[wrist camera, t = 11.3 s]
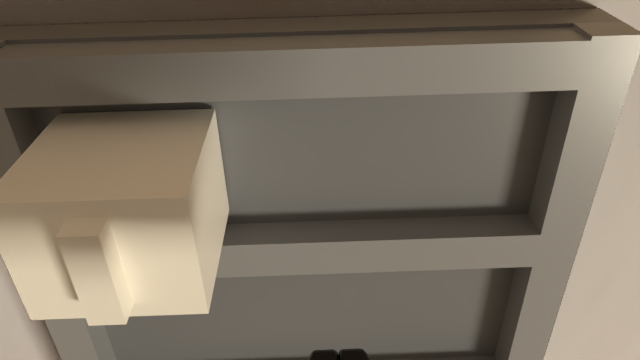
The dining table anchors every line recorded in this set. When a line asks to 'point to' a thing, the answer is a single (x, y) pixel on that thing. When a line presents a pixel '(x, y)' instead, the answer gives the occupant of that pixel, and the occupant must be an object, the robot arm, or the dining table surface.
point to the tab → (116, 216)
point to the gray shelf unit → (356, 171)
